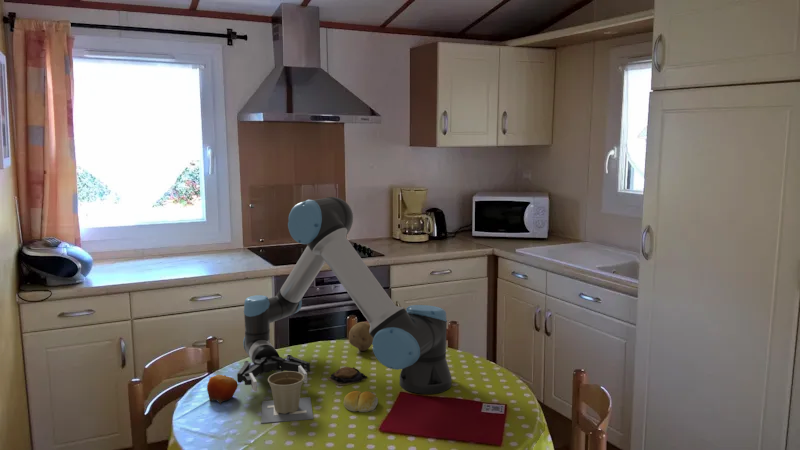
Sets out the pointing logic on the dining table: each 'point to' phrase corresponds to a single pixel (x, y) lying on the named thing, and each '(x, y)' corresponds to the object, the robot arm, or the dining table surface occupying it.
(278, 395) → the flower pot
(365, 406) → the bread roll
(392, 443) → the dining table surface
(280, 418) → the tile
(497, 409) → the dining table surface
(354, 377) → the abalone
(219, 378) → the fruit
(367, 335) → the potato
